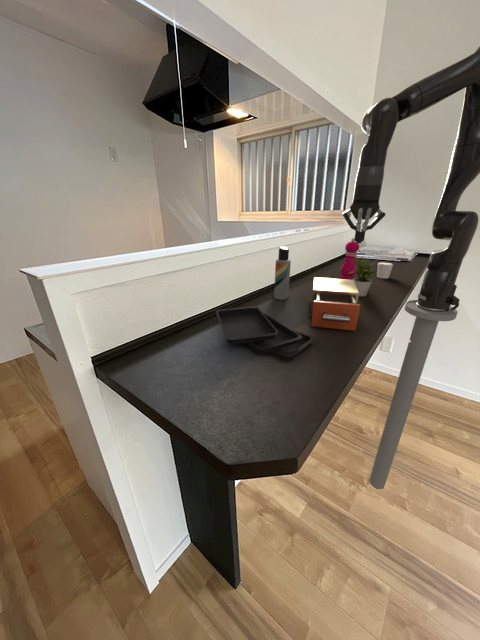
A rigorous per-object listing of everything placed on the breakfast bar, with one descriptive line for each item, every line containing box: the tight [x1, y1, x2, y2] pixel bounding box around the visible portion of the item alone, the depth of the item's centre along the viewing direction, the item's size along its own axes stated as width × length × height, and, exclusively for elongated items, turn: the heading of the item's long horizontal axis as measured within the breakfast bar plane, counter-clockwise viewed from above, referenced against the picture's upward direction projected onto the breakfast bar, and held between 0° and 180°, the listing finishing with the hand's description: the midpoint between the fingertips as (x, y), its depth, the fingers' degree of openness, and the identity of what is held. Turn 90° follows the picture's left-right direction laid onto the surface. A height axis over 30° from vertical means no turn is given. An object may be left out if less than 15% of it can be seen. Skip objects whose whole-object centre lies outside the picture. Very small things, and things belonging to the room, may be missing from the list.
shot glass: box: [376, 261, 394, 280], centre depth 133 cm, size 7×7×7 cm
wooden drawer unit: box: [310, 293, 361, 332], centre depth 81 cm, size 19×13×8 cm, turn 164°
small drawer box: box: [309, 276, 360, 319], centre depth 91 cm, size 16×14×10 cm
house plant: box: [347, 255, 383, 297], centre depth 107 cm, size 14×14×16 cm
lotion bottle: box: [273, 246, 292, 301], centre depth 103 cm, size 6×6×20 cm
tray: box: [215, 306, 316, 362], centre depth 73 cm, size 30×23×5 cm
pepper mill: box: [339, 237, 360, 280], centre depth 126 cm, size 7×7×20 cm
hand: (358, 242), depth 87 cm, fingers closed
